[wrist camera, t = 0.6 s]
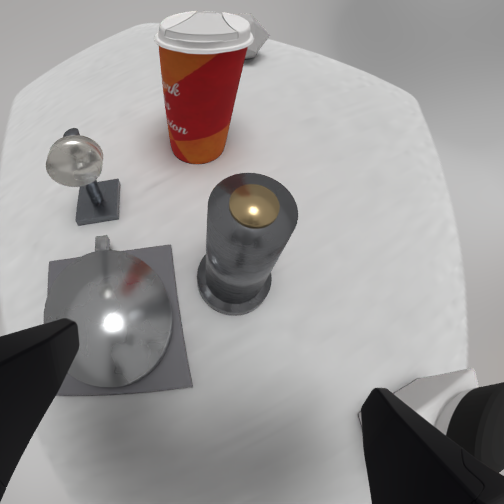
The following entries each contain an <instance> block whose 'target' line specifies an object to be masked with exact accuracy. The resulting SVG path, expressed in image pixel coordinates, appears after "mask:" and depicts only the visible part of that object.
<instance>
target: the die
mask: <svg viewBox="0 0 504 504" xmlns="http://www.w3.org/2000/svg"><path fill="white" fill-rule="evenodd" d="M234 15H238V16H240V17H242V18H244V19H246V20H247V21H248V22H249V24H250V27H251V28H250V32H251V33H252V35H253V37H254V40H253V43H252V44H251V45H249V46H248V48H247V52H246V56H245V59H248V58H254V57H255V55H256V54H257V52H258V51H259V50H260V48H261V47H262V45H263V44H264V43H265V41H266V40H267V38H268V37H269V36H270V35H269V34H268V32H267V31H266V30H265V29H264V28H263V27H262V25H261V24H260V23H259V22H258V21H257V20H256V19H255V18H254V17H253V16H252V14H250V13H249V14H234Z"/></svg>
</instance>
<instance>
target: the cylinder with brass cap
mask: <svg viewBox="0 0 504 504" xmlns="http://www.w3.org/2000/svg"><path fill="white" fill-rule="evenodd" d="M297 220H298V209H297V205H296V202H295V200H294V198H293V196H292V195H291V193H290V192H289V191H288V190H287V189H286V188H285V187H284V186H283V185H282V184H281V183H279V182H278V181H276V180H274V179H272V178H270V177H267V176H265V175H261V174H256V173H241V174H236V175H233V176H230V177H228V178H226V179H224V180H222V181H221V182H220V183H219V184H217V185H216V187H215V188H214V189H213V191H212V192H211V195H210V197H209V201H208V214H207V238H206V255H205V256H204V257H203V259H202V260H201V262H200V265H199V268H198V274H197V280H198V288H199V291H200V294H201V296H202V298H203V299H204V301H205V302H206V303H207V304H208V305H209V306H210V307H211V308H213V309H214V310H216V311H218V312H220V313H223V314H226V315H243V314H246V313H249V312H251V311H253V310H254V309H256V308H257V307H258V306H259V305H260V304H261V303H262V302H263V300H264V299H265V297H266V296H267V294H268V292H269V290H270V286H271V271H272V269H273V267H274V265H275V263H276V262H277V260H278V258H279V256H280V254H281V253H282V251H283V249H284V247H285V245H286V244H287V242H288V240H289V238H290V236H291V234H292V233H293V231H294V229H295V227H296V224H297Z"/></svg>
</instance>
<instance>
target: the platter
mask: <svg viewBox="0 0 504 504" xmlns="http://www.w3.org/2000/svg"><path fill="white" fill-rule="evenodd" d="M62 318H68V319H70V320H73V321H75V322H76V323H77V325H78V334H79V350H78V352H77V354H76V356H75V358H74V360H73V362H72V365H71V367H70V369H69V371H68V373H69V374H70V375H71V376H73V377H74V378H76V379H77V380H79V381H81V382H83V383H86V384H89V385H92V386H98V387H121V386H126V385H129V384H132V383H134V382H136V381H139V380H140V379H142V378H143V377H145V376H146V375H148V374H149V373H150V372H151V371H152V370H153V369H154V368H155V367H156V366H157V365H158V363H159V362H160V361H161V359H162V357H163V356H164V354H165V352H166V350H167V348H168V345H169V342H170V339H171V333H172V324H173V318H172V309H171V304H170V301H169V298H168V295H167V292H166V290H165V288H164V286H163V284H162V281H161V280H160V278H159V277H158V275H157V274H156V273H155V272H154V271H153V269H152V268H151V267H150V266H148V265H147V264H146V263H145V262H144V261H142V260H141V259H139V258H137V257H135V256H133V255H131V254H128V253H125V252H121V251H116V250H110V239H109V238H108V236H107V235H104V236H97V237H96V240H95V252H92V253H89V254H86V255H84V256H82V257H80V258H78V259H76V260H75V261H73V262H72V263H71V264H69V265H68V266H67V267H66V268H65V269H64V270H63V271H62V272H61V273H60V274H59V276H58V277H57V278H56V280H55V281H54V283H53V285H52V287H51V289H50V291H49V294H48V296H47V300H46V303H45V309H44V324H45V323H49V322H52V321H55V320H59V319H62Z"/></svg>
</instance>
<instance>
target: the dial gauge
mask: <svg viewBox="0 0 504 504" xmlns="http://www.w3.org/2000/svg"><path fill="white" fill-rule="evenodd" d="M102 164H103V152H102V149H101V148H100V146H99V145H98V144H97V143H96V142H95V141H93V140H92V139H90V138H88V137H85V136H80V134H79V131H78V129H77V128H72V129H69V130H68V131H66V132H65V133H64V135H63V138H61V139H59V140H57V141H56V142H55V143H54V144H53V145H52V147H51V148H50V151H49V154H48V157H47V161H46V170H47V172H48V174H49V176H50V177H51V178H52V179H53V180H54V181H56V182H57V183H59V184H62V185H65V186H70V187H80V190H79V196H78V204H77V212H76V222H77V224H78V226H79V225H85V224H91V223H97V222H103V221H109V220H116V219H119V198H120V182H119V179H114V180H108V181H102V182H97V180H96V179H97V178H98V177H99V175H100V174H101V171H102Z"/></svg>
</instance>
